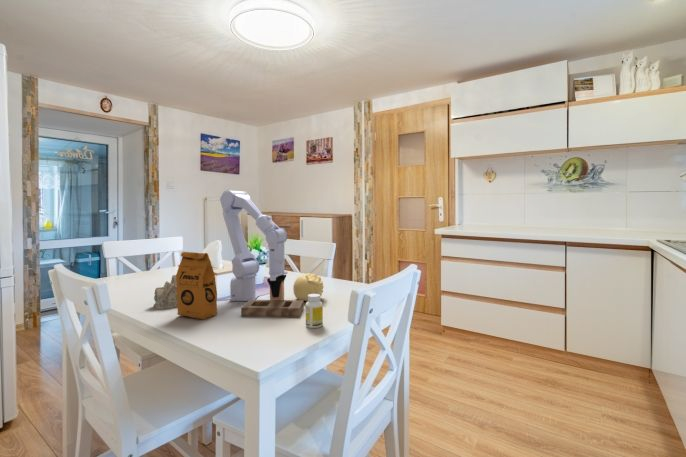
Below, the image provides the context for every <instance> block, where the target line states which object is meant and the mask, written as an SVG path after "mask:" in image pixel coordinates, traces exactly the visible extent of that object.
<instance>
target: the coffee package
mask: <svg viewBox="0 0 686 457" xmlns="http://www.w3.org/2000/svg"><path fill="white" fill-rule="evenodd" d="M180 257H181V260H180V263H179V266H178V268H177V272H176V274H175V275H176V282H177V315H178V316H183V317H189V318H193V319H198V320H206V319H209V318H212V317H214V316H216V315H218V311H217V310H218V309H217V308H218V303H217V302H218V299H217V298H218V291H217V284H216V276H215V272H214V267H213V264H212V262H211V258H210V256H209V253H207V252H194V251H190V252H189V251H182V252H181V253H180Z"/></svg>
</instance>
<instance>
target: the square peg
mask: <svg viewBox="0 0 686 457" xmlns="http://www.w3.org/2000/svg"><path fill="white" fill-rule="evenodd" d="M269 300H285V280H284V281H282V283H281V286H280V292H279V297H273V296H272V292H271V288H270V287H269Z"/></svg>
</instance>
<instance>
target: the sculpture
mask: <svg viewBox="0 0 686 457" xmlns="http://www.w3.org/2000/svg"><path fill="white" fill-rule="evenodd" d="M292 290H293V291H292V292H293V295H294V296H295V298H296V299H297V300H304V301H305V302H308V295H309V294H320V297H321V296H322V294H323V292H324V283H323V280H322V277H321V276H319V275H317V274H316V273H311V272H307V273H305V274H302V275H299V277H296V279H295V281H294V282H293V288H292Z"/></svg>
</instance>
